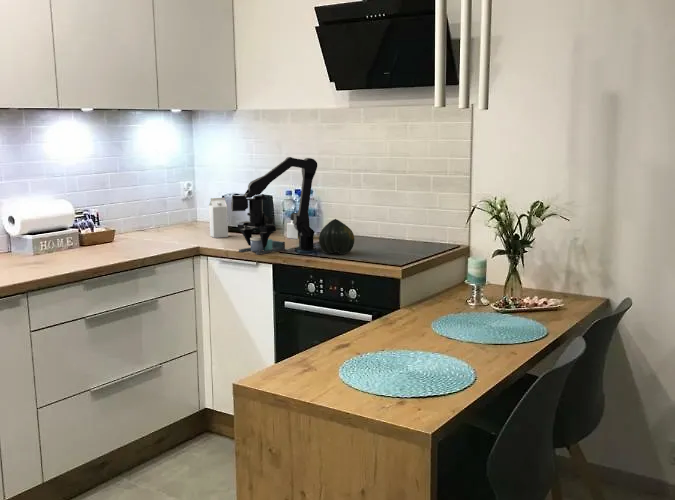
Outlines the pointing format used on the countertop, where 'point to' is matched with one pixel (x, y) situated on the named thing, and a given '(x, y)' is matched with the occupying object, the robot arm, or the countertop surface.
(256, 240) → the jar
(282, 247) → the gray u-shaped archway
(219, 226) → the milk carton
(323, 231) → the squash
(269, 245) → the teal foam pad
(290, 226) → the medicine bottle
